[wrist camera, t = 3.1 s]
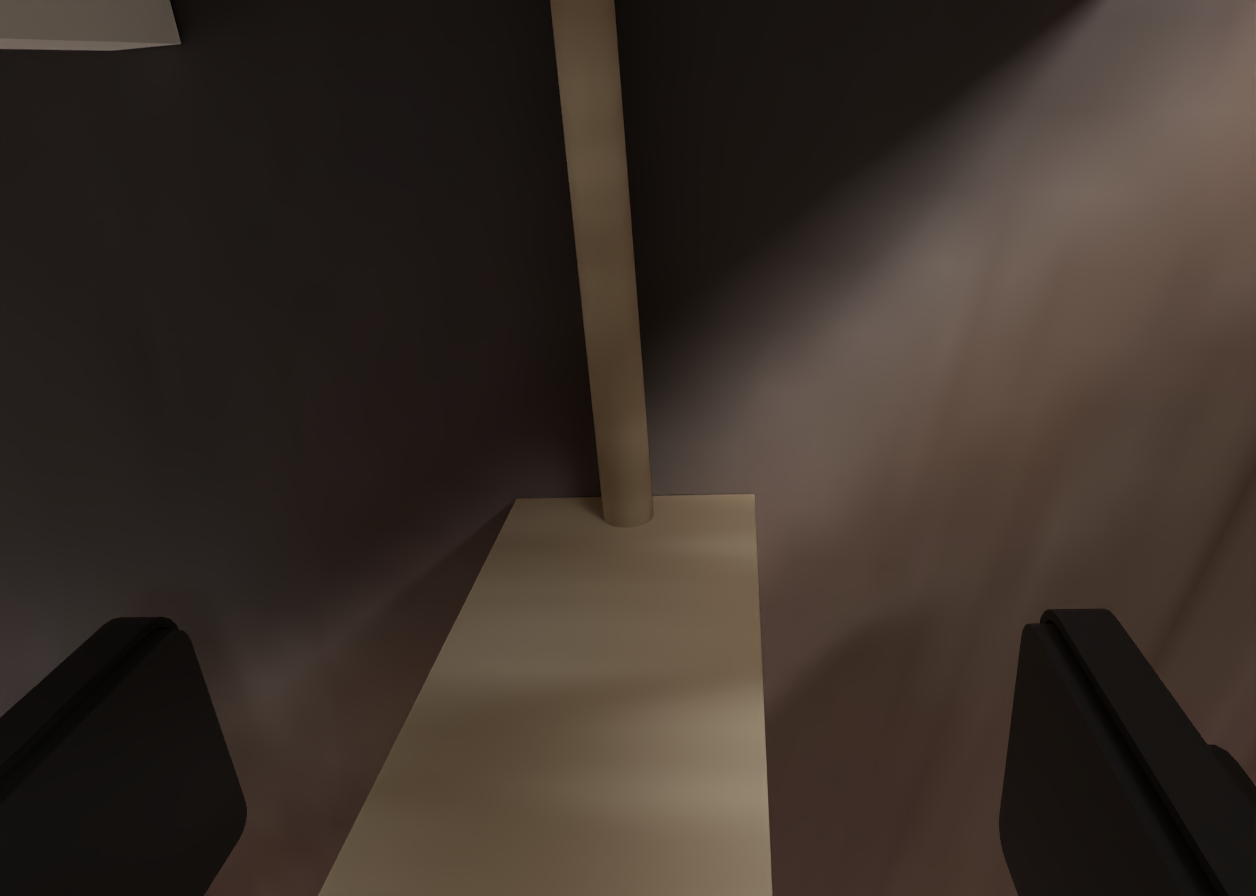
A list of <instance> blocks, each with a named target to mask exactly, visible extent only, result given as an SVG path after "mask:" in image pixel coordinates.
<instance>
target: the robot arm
mask: <svg viewBox="0 0 1256 896" xmlns="http://www.w3.org/2000/svg"><path fill="white" fill-rule="evenodd" d="M246 817H247V807H246V802H245V799H244V796H243V793H242V790H241V787H240V784H239V781H238V778H237V775H236V772H235V769H234V766H233V763H232V760H231V757H230V754H229V751H228V748H227V745H226V742H225V740H224V737H223V734H222V731H221V728H220V725H219V722H218V719H217V716H216V713H215V710H214V707H213V704H212V701H211V698H210V695H209V692H208V689H207V686H206V683H205V680H204V678H203V675H202V672H201V669H200V666H199V663H198V660H197V657H196V654H195V651H194V648H193V645H192V642H191V640H190V638H189V636H188V634H186V633H185V632H184V631H182V630H179V629H178V627H177V625H176V624H175V623H174V622H173V621H172V620H171V619H168V618H165V617H120V618H115V619H112V620H110V621H109V622H107V623H106V624H104V625H103V626H102V627H101V628H100V629H99V630H98V631H97V632H95V633H94V634H93V635H92V636H91V637H90V638H89V639H88V640H87V641H85V642H84V643H83V644H82V645H81V646H80V647H79V648H78V649H76V650H75V651H74V652H73V653H72V654H71V655H70V656H69V657H68V658H66V659H65V660H64V661H63V662H62V663H61V664H60V665H59V666H58V667H56V668H55V669H54V670H53V671H52V672H51V673H50V674H49V675H47V676H46V677H45V678H44V679H43V680H42V681H41V682H40V683H39V684H37V685H36V686H35V687H34V688H33V689H32V690H31V691H30V692H29V693H27V694H26V695H25V696H24V697H23V698H22V699H21V700H20V701H19V702H17V703H16V704H15V705H14V706H13V707H12V708H11V709H10V710H8V711H7V712H6V713H5V714H4V715H3V716H2V717H1V718H0V896H204V894H205V893H206V891H207V890H208V888H209V886H210V885H211V883H212V882H213V880H214V878H215V877H216V875H217V874H218V872H219V870H220V869H221V867H222V866H223V864H224V863H225V861H226V859H227V858H228V856H229V855H230V853H231V851H232V850H233V848H234V847H235V845H236V843H237V842H238V840H239V838H240V837H241V835H242V833H243V830H244V826H245V823H246ZM999 831H1000V839H1001V845H1002V850H1003V853H1004V857H1005V860H1006V863H1007V866H1008V868H1009V871H1010V874H1011V877H1012V879H1013V882H1014V885H1015V888H1016V891H1017V893H1018V896H1256V786H1255V785H1254V784H1253V782H1252V781H1251V779H1250V778H1249V777H1248V775H1247V774H1246V773H1245V771H1244V770H1243V769H1242V767H1241V766H1240V765H1239V763H1238V762H1237V761H1236V760H1235V759H1234V758H1233V757H1232V756H1231V755H1230V754H1229V753H1228V752H1227V751H1226V750H1224V749H1222V748H1220V747H1218V746H1216V745H1207V744H1206V742H1205V741H1204V739H1203V738H1202V737H1201V735H1200V734H1199V732H1198V731H1197V730H1196V728H1195V727H1194V726H1193V724H1192V723H1191V721H1190V720H1189V719H1188V717H1187V716H1186V714H1185V713H1184V712H1183V710H1182V709H1181V707H1180V706H1179V705H1178V703H1177V702H1176V700H1175V699H1174V698H1173V696H1172V695H1171V693H1170V692H1169V691H1168V689H1167V688H1166V687H1165V685H1164V684H1163V682H1162V681H1161V680H1160V678H1159V677H1158V675H1157V674H1156V673H1155V671H1154V670H1153V668H1152V667H1151V666H1150V664H1149V663H1148V661H1147V660H1146V659H1145V657H1144V656H1143V654H1142V653H1141V652H1140V650H1139V649H1138V648H1137V646H1136V645H1135V643H1134V642H1133V641H1132V639H1131V638H1130V636H1129V635H1128V634H1127V632H1126V631H1125V629H1124V628H1123V627H1122V625H1121V624H1120V622H1119V621H1118V620H1117V618H1116V617H1115V616H1114V615H1113V614H1112V613H1111V612H1110V611H1109V610H1106V609H1048V610H1046V611H1044V613H1043V615H1042V617H1041V620H1040V624H1027V625H1025V627H1024V629H1023V632H1022V637H1021V644H1020V653H1019V661H1018V669H1017V677H1016V685H1015V693H1014V702H1013V710H1012V718H1011V726H1010V734H1009V742H1008V751H1007V759H1006V767H1005V775H1004V783H1003V791H1002V800H1001V808H1000V816H999Z"/></svg>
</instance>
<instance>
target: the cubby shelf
mask: <svg viewBox="0 0 1256 896" xmlns="http://www.w3.org/2000/svg"><path fill="white" fill-rule="evenodd" d="M175 44H181V41H180V38H179V34H178V30H177V26H176V22H175V18H174V15H173V11H172V7H171V3H170V0H0V49H36V50H99V51H115V50H125V49H135V48H145V47H155V46H165V45H175Z"/></svg>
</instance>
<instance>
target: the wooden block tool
mask: <svg viewBox="0 0 1256 896" xmlns="http://www.w3.org/2000/svg"><path fill="white" fill-rule="evenodd" d="M550 3H551V13H552V23H553V32H554V42H555V52H556V61H557V71H558V81H559V90H560V100H561V109H562V119H563V129H564V138H565V148H566V158H567V167H568V177H569V187H570V196H571V206H572V216H573V225H574V235H575V244H576V254H577V264H578V273H579V283H580V293H581V302H582V312H583V322H584V331H585V341H586V350H587V360H588V370H589V379H590V389H591V399H592V408H593V418H594V428H595V437H596V447H597V457H598V466H599V476H600V485H601V495H602V497H574V498H523V499H516V501H515V503H514V505H513V507H512V509H511V511H510V513H509V515H508V517H507V519H506V521H505V523H504V525H503V527H502V529H501V531H500V533H499V535H498V537H497V539H496V541H495V543H494V545H493V547H492V549H491V551H490V553H489V555H488V557H487V559H486V561H485V563H484V565H483V567H482V569H481V571H480V573H479V575H478V577H477V579H476V581H475V583H474V585H473V587H472V589H471V591H470V593H469V595H468V597H467V599H466V601H465V603H464V605H463V607H462V609H461V611H460V613H459V615H458V617H457V619H456V621H455V623H454V625H453V627H452V629H451V631H450V633H449V635H448V637H447V639H446V641H445V643H444V645H443V647H442V649H441V651H440V653H439V655H438V657H437V659H436V661H435V663H434V665H433V667H432V669H431V671H430V673H429V675H428V677H427V679H426V681H425V683H424V685H423V687H422V689H421V691H420V693H419V695H418V697H417V699H416V701H415V703H414V705H413V707H412V709H411V711H410V713H409V715H408V717H407V719H406V721H405V723H404V725H403V727H402V729H401V731H400V733H399V735H398V737H397V739H396V741H395V743H394V745H393V747H392V749H391V751H390V753H389V755H388V757H387V759H386V761H385V763H384V765H383V767H382V769H381V771H380V773H379V775H378V777H377V779H376V781H375V783H374V785H373V787H372V789H371V791H370V793H369V795H368V797H367V799H366V801H365V803H364V805H363V807H362V809H361V811H360V813H359V815H358V817H357V819H356V821H355V823H354V825H353V827H352V829H351V831H350V833H349V835H348V837H347V839H346V841H345V843H344V845H343V847H342V849H341V851H340V853H339V855H338V857H337V859H336V861H335V863H334V865H333V867H332V869H331V870H330V872H329V874H328V876H327V878H326V880H325V882H324V884H323V886H322V888H321V890H320V892H319V894H318V896H772V875H771V853H770V830H769V808H768V785H767V763H766V741H765V718H764V696H763V674H762V651H761V629H760V606H759V584H758V562H757V539H756V517H755V494H726V495H675V496H652V484H651V471H650V458H649V445H648V432H647V419H646V406H645V393H644V381H643V368H642V355H641V342H640V329H639V316H638V303H637V290H636V277H635V264H634V251H633V238H632V225H631V212H630V199H629V186H628V173H627V160H626V147H625V134H624V121H623V108H622V95H621V82H620V69H619V56H618V43H617V30H616V17H615V4H614V0H550Z"/></svg>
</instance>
